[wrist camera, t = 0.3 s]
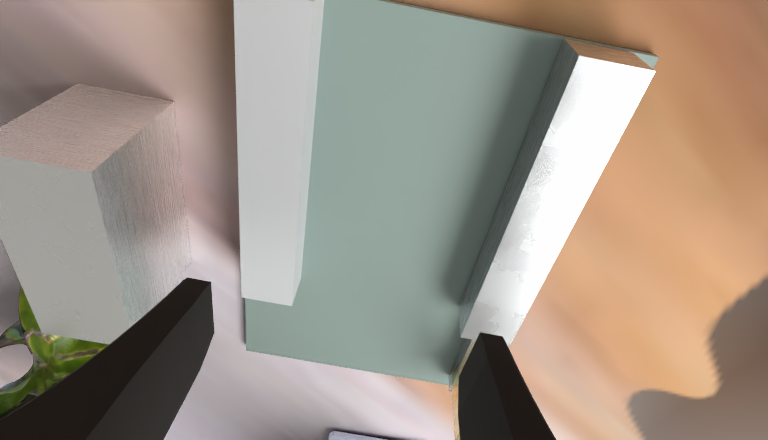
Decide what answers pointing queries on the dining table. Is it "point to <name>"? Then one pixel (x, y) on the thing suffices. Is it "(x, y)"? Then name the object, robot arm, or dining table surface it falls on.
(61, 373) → the green leafy plant
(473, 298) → the block
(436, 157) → the vise base
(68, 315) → the steel block
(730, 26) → the dining table surface
